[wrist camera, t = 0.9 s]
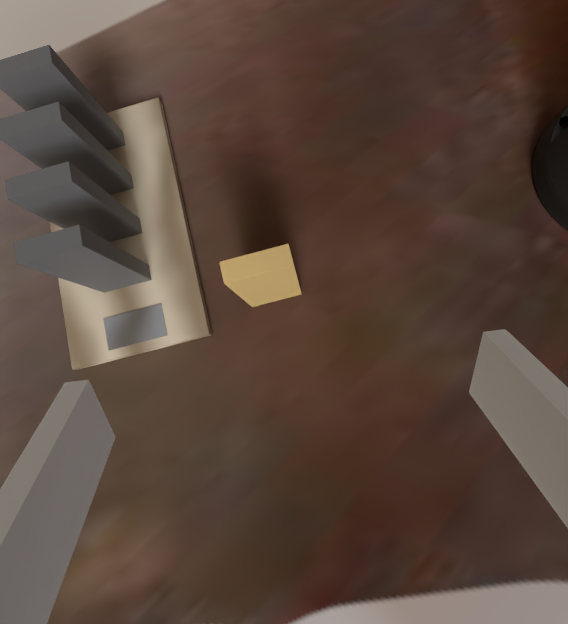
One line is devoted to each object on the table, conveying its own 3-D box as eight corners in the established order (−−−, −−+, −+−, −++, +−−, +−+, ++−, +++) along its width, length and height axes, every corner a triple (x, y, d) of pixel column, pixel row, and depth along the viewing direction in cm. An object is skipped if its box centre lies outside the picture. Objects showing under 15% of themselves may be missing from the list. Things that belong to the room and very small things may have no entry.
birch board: (162, 103, 41) (157, 96, 40) (212, 335, 37) (208, 334, 36) (42, 139, 42) (35, 133, 41) (78, 369, 38) (71, 369, 37)
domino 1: (122, 131, 40) (48, 44, 29) (125, 145, 40) (52, 62, 29) (78, 144, 40) (-11, 63, 29) (81, 158, 40) (-9, 81, 29)
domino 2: (131, 174, 39) (58, 101, 28) (133, 188, 39) (61, 120, 28) (86, 187, 39) (-4, 120, 29) (88, 201, 39) (-1, 138, 28)
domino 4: (148, 264, 38) (78, 224, 27) (151, 279, 37) (82, 245, 26) (101, 277, 38) (13, 242, 27) (104, 292, 38) (16, 263, 27)
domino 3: (139, 218, 38) (68, 161, 27) (142, 233, 38) (71, 181, 27) (93, 231, 39) (5, 179, 28) (96, 246, 38) (7, 199, 28)
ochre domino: (297, 278, 37) (288, 243, 26) (301, 294, 37) (293, 265, 26) (248, 291, 37) (219, 262, 26) (252, 307, 37) (224, 283, 26)
